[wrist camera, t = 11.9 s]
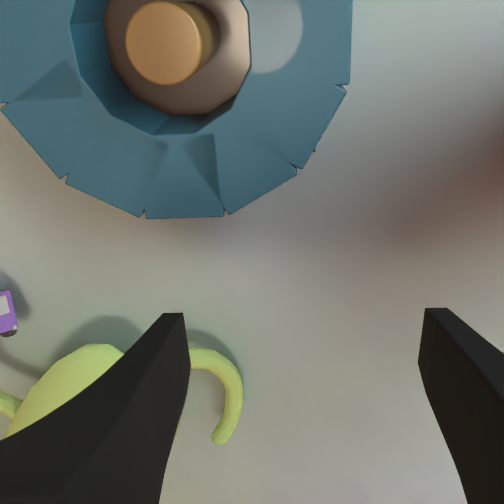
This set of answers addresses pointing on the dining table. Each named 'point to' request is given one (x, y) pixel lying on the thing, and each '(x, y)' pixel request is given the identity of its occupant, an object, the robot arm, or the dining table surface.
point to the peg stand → (179, 51)
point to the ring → (172, 127)
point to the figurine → (91, 368)
